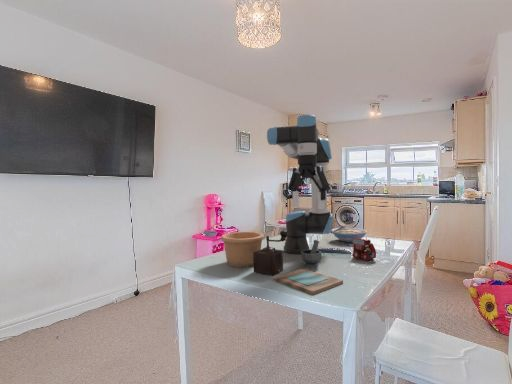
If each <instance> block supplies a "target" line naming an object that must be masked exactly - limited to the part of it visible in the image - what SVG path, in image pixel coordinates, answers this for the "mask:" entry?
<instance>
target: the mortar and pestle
mask: <svg viewBox="0 0 512 384" xmlns="http://www.w3.org/2000/svg"><path fill="white" fill-rule="evenodd" d="M319 243H320V241H319V240H318V239H317V240H316V239H314V240H313V244H312V247H311V249H309V250H303V251H301V254H300V255H301V259H302V261H303V263H304V266H305V268H310V269H313V268H317V267H319V265H318V263H319V262H320V261H321V259H322V251H321V250H318V247H319Z"/></svg>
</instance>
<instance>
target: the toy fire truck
mask: <svg viewBox="0 0 512 384" xmlns="http://www.w3.org/2000/svg"><path fill="white" fill-rule="evenodd" d="M352 245H353V248H352V250H353V251H352V257H353V258H354V260H359V259H360V258H361V259H362V261H365V262H368V261H369V260H373V259H375V258H376V257H377V250H376V248H375V246H374V244H373V243H372V242H371V240H370V239H363V238H362V239H358V238H354V239H353V242H352Z"/></svg>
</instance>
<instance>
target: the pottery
mask: <svg viewBox="0 0 512 384" xmlns="http://www.w3.org/2000/svg"><path fill="white" fill-rule="evenodd" d="M264 239H265V235H264V234H263V233H261V232H256V231H234V232H227V233H224V234H222V235H221V236H220V240H221V241H222V242H223V246H224V251H225V252H224V253H225V258H226V264H227V265H228V266H229V267H232V266H233V268H239V267H241V268H252V267H254V262H253V252H256V251H259V250H262V242H263V240H264ZM251 266H252V267H251Z"/></svg>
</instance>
